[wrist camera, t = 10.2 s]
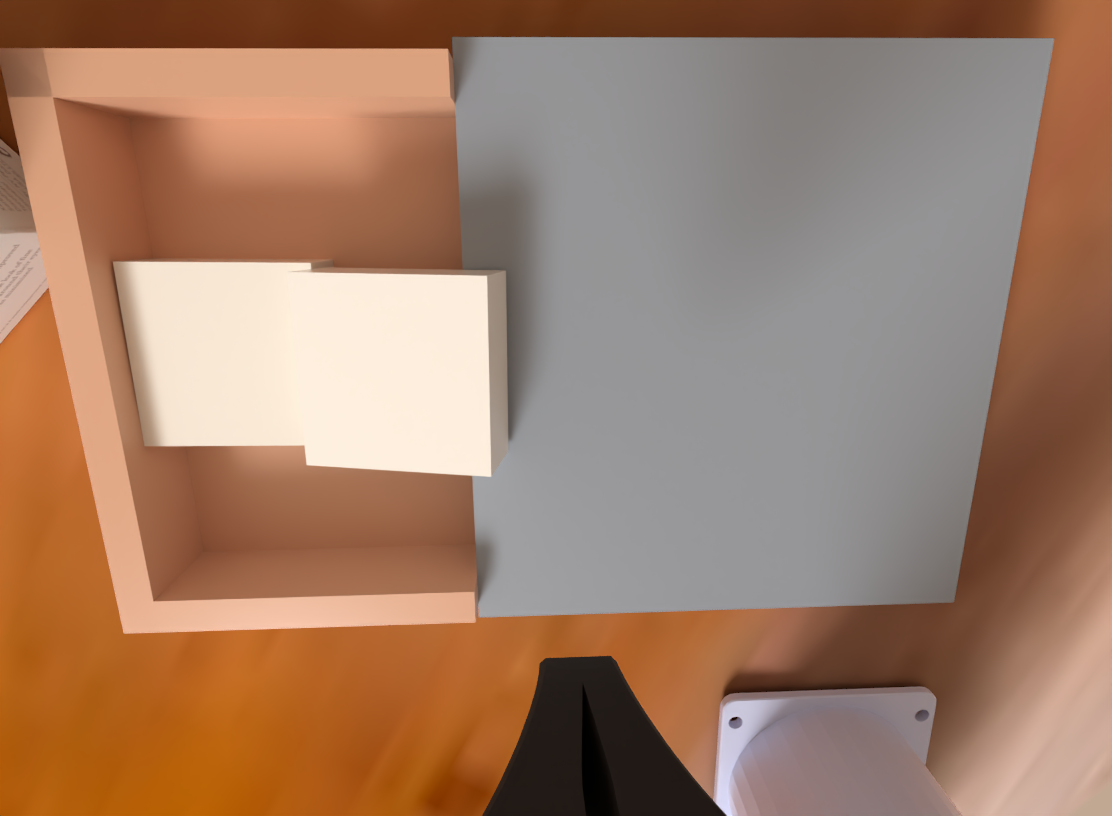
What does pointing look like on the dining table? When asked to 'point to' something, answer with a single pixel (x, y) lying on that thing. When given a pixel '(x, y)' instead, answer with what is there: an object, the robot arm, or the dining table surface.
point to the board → (740, 310)
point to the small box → (17, 245)
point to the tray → (244, 233)
